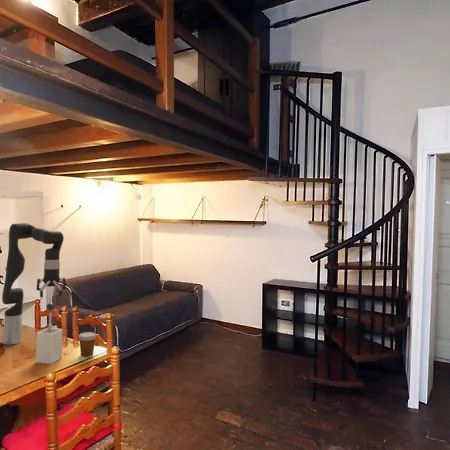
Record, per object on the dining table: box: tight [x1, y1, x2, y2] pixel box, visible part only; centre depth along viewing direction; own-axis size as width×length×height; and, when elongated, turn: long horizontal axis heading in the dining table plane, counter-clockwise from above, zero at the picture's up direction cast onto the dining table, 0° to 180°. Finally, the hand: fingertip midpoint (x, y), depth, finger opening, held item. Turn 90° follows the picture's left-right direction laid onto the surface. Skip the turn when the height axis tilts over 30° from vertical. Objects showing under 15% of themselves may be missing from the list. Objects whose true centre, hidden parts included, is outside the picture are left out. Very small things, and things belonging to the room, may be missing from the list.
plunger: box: [46, 302, 56, 334], centre depth 193 cm, size 7×7×17 cm
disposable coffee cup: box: [78, 331, 97, 358], centre depth 202 cm, size 10×10×12 cm
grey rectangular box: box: [35, 327, 63, 365], centre depth 195 cm, size 9×12×16 cm
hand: (50, 297), depth 193 cm, fingers open, 8 cm apart
